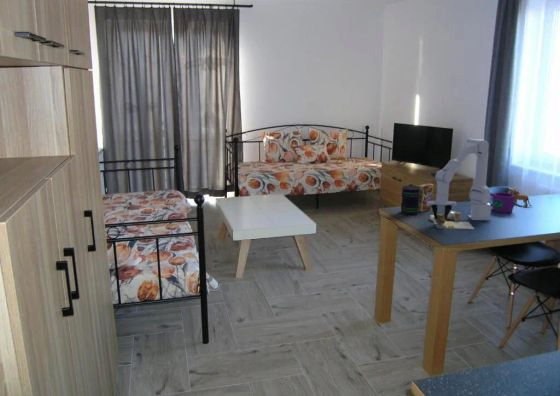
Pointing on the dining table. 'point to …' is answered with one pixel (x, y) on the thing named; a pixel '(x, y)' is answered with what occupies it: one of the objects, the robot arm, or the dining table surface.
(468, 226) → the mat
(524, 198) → the lion figurine
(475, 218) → the robot arm
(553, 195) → the dining table surface
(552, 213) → the dining table surface
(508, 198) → the mug
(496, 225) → the dining table surface
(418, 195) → the storage jar
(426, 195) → the candy box
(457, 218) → the cork
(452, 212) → the tin
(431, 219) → the soap bar
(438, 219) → the walnut cylinder
